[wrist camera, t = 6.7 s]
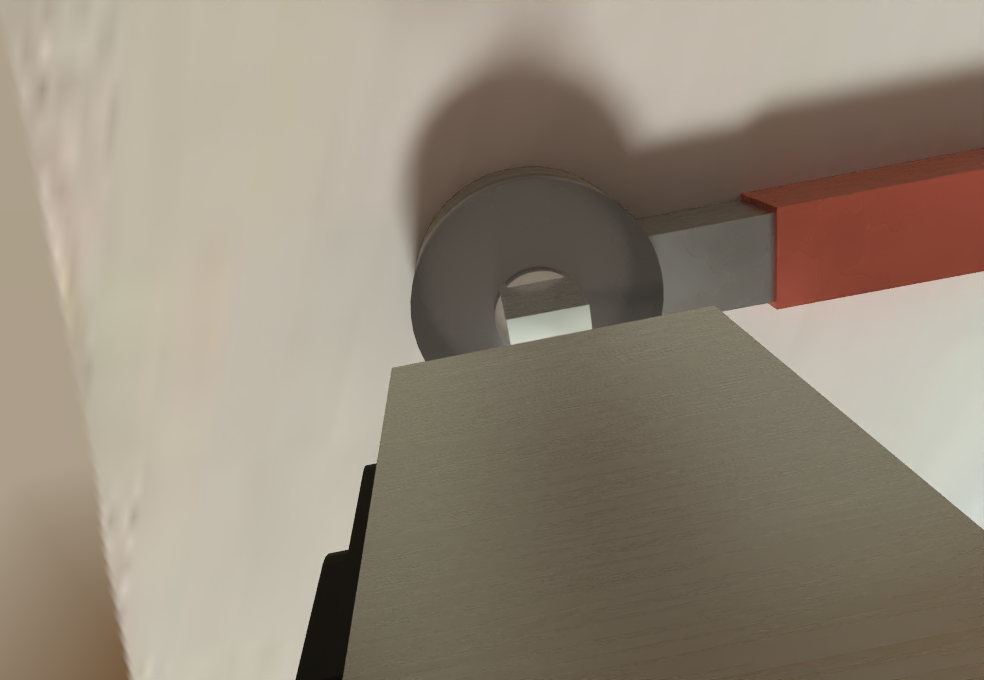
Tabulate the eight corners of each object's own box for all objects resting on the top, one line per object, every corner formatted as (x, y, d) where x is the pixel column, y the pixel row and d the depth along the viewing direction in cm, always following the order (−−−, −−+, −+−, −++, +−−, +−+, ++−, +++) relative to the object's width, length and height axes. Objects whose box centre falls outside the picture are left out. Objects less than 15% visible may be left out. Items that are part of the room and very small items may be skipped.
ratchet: (1015, 72, 20) (1233, 69, 15) (982, 297, 24) (1151, 367, 18) (392, 190, 21) (369, 232, 15) (441, 397, 24) (437, 497, 18)
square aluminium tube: (714, 305, 10) (1186, 698, 4) (721, 554, 12) (1030, 1076, 6) (391, 367, 10) (311, 869, 4) (456, 606, 12) (475, 1185, 6)
